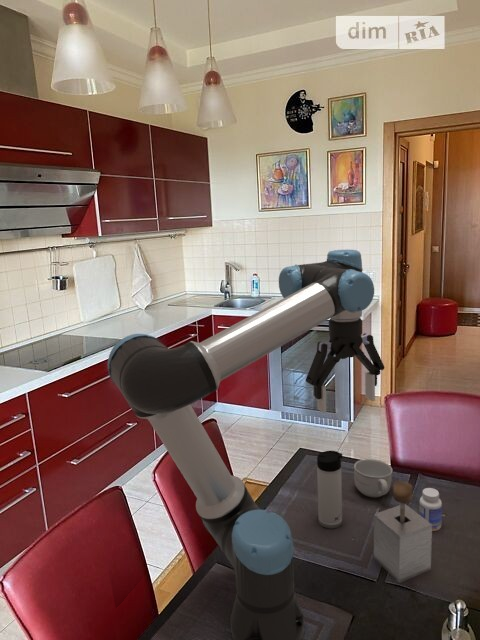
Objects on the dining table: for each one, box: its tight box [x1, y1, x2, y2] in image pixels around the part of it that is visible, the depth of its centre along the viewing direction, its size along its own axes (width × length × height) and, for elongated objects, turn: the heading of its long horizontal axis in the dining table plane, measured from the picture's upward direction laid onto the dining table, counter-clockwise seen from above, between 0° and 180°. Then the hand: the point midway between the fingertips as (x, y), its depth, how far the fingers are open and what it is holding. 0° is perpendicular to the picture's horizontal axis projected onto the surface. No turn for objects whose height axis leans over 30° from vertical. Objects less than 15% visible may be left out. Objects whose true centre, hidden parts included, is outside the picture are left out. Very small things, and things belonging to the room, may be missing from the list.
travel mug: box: [316, 450, 343, 529], centre depth 130 cm, size 6×7×20 cm
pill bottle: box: [418, 487, 443, 532], centre depth 128 cm, size 5×5×10 cm
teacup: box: [353, 458, 394, 498], centre depth 143 cm, size 14×11×8 cm
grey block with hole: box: [373, 503, 433, 584], centre depth 116 cm, size 9×11×12 cm
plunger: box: [393, 480, 413, 524], centre depth 113 cm, size 7×7×18 cm
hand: (346, 405), depth 117 cm, fingers open, 13 cm apart
